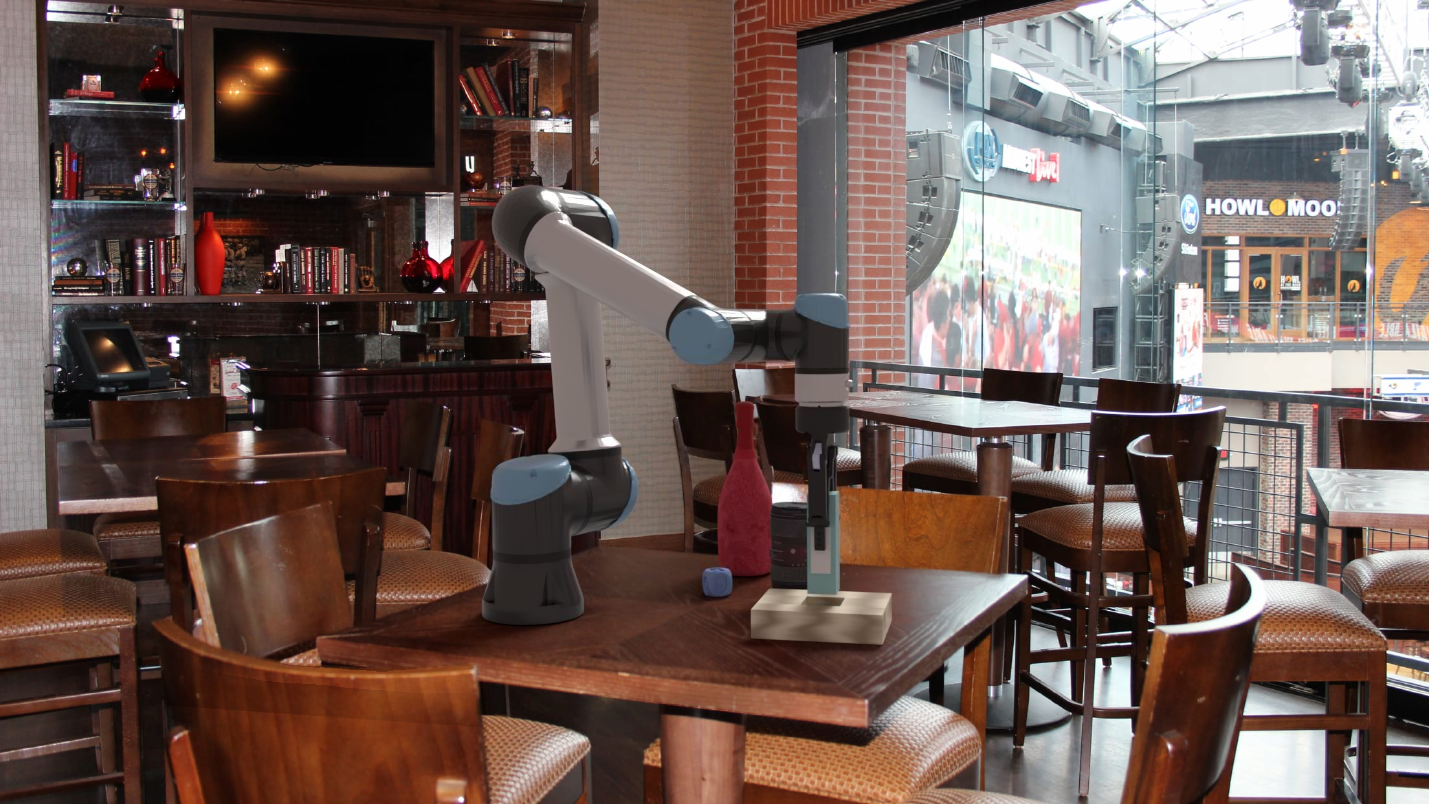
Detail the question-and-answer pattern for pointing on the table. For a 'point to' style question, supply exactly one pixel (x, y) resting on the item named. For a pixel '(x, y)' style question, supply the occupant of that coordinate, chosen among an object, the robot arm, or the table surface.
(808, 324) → the robot arm
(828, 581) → the peg
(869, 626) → the socket block
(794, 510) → the camera lens
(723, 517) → the wine bottle
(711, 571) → the decorative dice
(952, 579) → the table surface
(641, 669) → the table surface
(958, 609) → the table surface
